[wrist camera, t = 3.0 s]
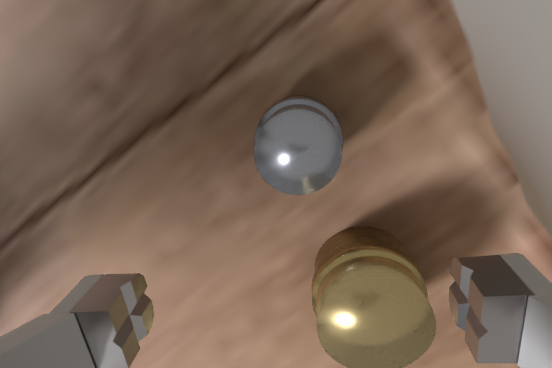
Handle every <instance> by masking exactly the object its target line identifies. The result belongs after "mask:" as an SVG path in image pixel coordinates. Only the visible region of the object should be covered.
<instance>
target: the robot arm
mask: <svg viewBox="0 0 552 368" xmlns="http://www.w3.org/2000/svg"><path fill="white" fill-rule="evenodd" d="M450 273H451V274H452V276H453V278H454V280H455V282H454V283H453V284H452V285H451V286H450V287H449V302H450V309H451V312H452V315H453V318H454V320H455V322H456V324H457V326H458V327H460V328H461V329H463V330H464V331H465V342H466V344H467V346H468V347H469V349H470V351H471V353H472V355H473V357H474V359H475V361H476V363H518V366H519V367H520V368H552V283H551V282H550V281H549V280H548V279H547V278H546V277H545V276H543V275H542V274H541V273H540V272H539V271H538V270H537V269H536V268H535V267H534V266H533V265H532V264H531V263H530V262H529V261H528V260H527V259H526V258H525V257H524V256H523V255H522V254H519V253H511V254H499V255H490V256H476V257H461V258H453V259H452V262H451V270H450ZM146 288H147V284H146V281H145V278H144V276H143V275H141V274H140V273H135V274H106V275H104V274H101V275H89V276H86V277H84V278H83V279H82V280H81V281H80V282H79V283H78V284H77V285H76V286H75V287H74V288H73V289H72V290H71V292H70V293H69V294H68V295H67V296H66V297H65V298H64V299H63V300H62V301H61V302H60V303H59V304H58V305H57V306H56V307H55V308H54V309H53V310H52V311H51V312H50V313H49V314H43V315H41V316H39V317H37V318H35V319H33V320H31V321H30V322H28V323H26V324H24V325H22V326H20V327H18V328H16V329H14V330H12V331H11V332H9V333H7V334H5V335H3V336H1V337H0V368H129V367H130V365H131V364H132V362H133V360H134V358H135V356H136V355H137V353H138V351H139V349H140V346H139V343H138V341H140V340H141V339H143V338H144V337H145V336H147V334H148V333H149V331H150V329H151V327H152V322H153V317H154V312H153V305H152V301H151V299H150V298H149V297H148V296H146V295H145V294H144V292H145V290H146Z"/></svg>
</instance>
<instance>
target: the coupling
mask: <svg viewBox="0 0 552 368" xmlns="http://www.w3.org/2000/svg"><path fill="white" fill-rule="evenodd" d="M342 148H343V136H342V131H341V128H340V125H339V123H338V120H337V118H336V117H335V115H334V114H333V112H332V111H331V110H330V109H329V108H328V107H327V106H326V105H324V104H323V103H322V102H320V101H318V100H316V99H313V98H311V97H307V96H293V97H289V98H286V99H283V100H281V101H279V102H277V103H275V104H274V105H273V106H271V107H270V108H269V109H268V110H267V111H266V113H265V114H264V116H263V117H262V119H261V121H260V123H259V125H258V127H257V130H256V134H255V150H254V156H255V162H256V166H257V169H258V171H259V173H260V174H261V176H262V177H263V179H264V180H265V181H266V182H267V183H268V184H269V185H271V186H272V187H273V188H275V189H277V190H279V191H281V192H284V193H287V194H293V195H303V194H309V193H312V192H315V191H317V190H319V189H321V188H323V187H324V186H325V185H327V184H328V183H329V182H330V181H331V180H332V179H333V177H334V176H335V174H336V173H337V171H338V168H339V166H340V162H341V155H342Z"/></svg>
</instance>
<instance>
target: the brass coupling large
mask: <svg viewBox="0 0 552 368" xmlns="http://www.w3.org/2000/svg"><path fill="white" fill-rule="evenodd" d="M312 305H313V310H314V313H315V315H316V317H317V332H318V337H319V340H320V343H321V345H322V347H323V348H324V350H325V351H326V352H327V353H328V354H329V355H330V356H331V357H332V358H333V359H334V360H336V361H337V362H339V363H340V364H342V365H344V366H346V367H348V368H402V367H404V366H407V365H409V364H411V363H412V362H414V361H415V360H417V359H418V358H419V357H420V356H422V355H423V354H424V353H425V352H426V350H427V349H428V348H429V346H430V345H431V343H432V341H433V339H434V336H435V331H436V319H435V315H434V312H433V310H432V308H431V305H430V303H429V301H428V299H427V289H426V285H425V283H424V280H423V278H422V276H421V274H420V272H419V270H418V268H417V266H416V265H415V263H414V262H413V261H412V259H411V258H410V257H409V256H408V255H407V254H406V252H405V250H404V248H403V247H402V245H401V244H400V243H399V241H398V240H397V239H395V238H394V237H393V236H391V235H390V234H388V233H386V232H384V231H382V230H379V229H375V228H370V227H356V228H350V229H346V230H344V231H341V232H339V233H337V234H335V235H334V236H332V237H331V238H330V239H328V240H327V241H326V242H325V243H324V244H323V246H322V247H321V249H320V250H319V252H318V254H317V257H316V261H315V274H314V277H313V280H312Z"/></svg>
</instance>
